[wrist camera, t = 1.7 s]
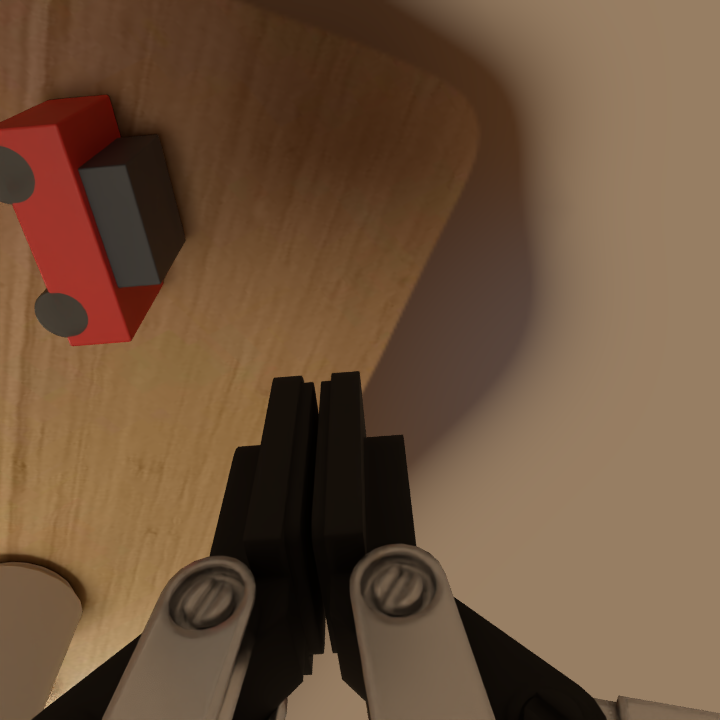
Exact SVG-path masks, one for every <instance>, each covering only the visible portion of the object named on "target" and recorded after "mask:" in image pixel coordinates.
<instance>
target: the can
mask: <svg viewBox="0 0 720 720" xmlns="http://www.w3.org/2000/svg"><path fill="white" fill-rule="evenodd" d="M82 612H83V611H82V606H81V601H80V600H79V598H78V597H77V596H76V594H75V593H74V590H73V588H72V587H71V586H70V584H69V583H68V582H67V581H66V580H65V579H64V578H62V577H61V576H60V575H58V574H57V573H55V572H53V571H51V570H49V569H47V568H44V567H42V566H38V565H34V564H30V563H21V562H8V563H1V564H0V720H31V719H32V718H34V717H35V716H36V715H38V714H39V713H40V712H41V711H43V709H44V707H45V704H46V702H47V699H48V697H49V694H50V692H51V690H52V687H53V685H54V682H55V680H56V677H57V675H58V672H59V670H60V667H61V665H62V662H63V660H64V657H65V655H66V653H67V650H68V648H69V645H70V643H71V640H72V638H73V635H74V633H75V630H76V628H77V625H78V623H79V620H80V618H81V615H82Z"/></svg>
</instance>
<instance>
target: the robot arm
mask: <svg viewBox="0 0 720 720" xmlns="http://www.w3.org/2000/svg"><path fill="white" fill-rule="evenodd" d="M325 618H326V619H325ZM325 620H327V625H328V630H329V636H330V641H331V646H332V651H333V653H338V659H339V664H340V670H341V676H342V680H343V681H345V682H346V683H347V684H348V685H349V686H350V687H351V688H352V689H353V690H354V691H355V692H356V693H357V694H358V695H360V697H361V698H363V699H364V700H365V701H366V707H367V713H368V718H369V720H720V713H715V712H709V711H704V710H697V709H692V708H686V707H681V706H675V705H669V704H663V703H658V702H652V701H646V700H641V699H635V698H629V697H623V696H618V699H617V702H613V701H607V700H601V699H596V698H593V697H591V696H590V695H589V694H588V693H587V692H586V691H585V690H584V689H583V688H582V687H580V686H579V685H578V684H576V683H575V682H574V681H572V680H571V679H569V678H568V677H566V676H565V675H564V674H562V673H561V672H559V671H558V670H557V669H555V668H554V667H552V666H551V665H550V664H548V663H547V662H545V661H544V660H542V659H541V658H540V657H538V656H537V655H535V654H534V653H533V652H531V651H530V650H528V649H527V648H525V647H524V646H523V645H521V644H520V643H518V642H517V641H516V640H514V639H513V638H511V637H510V636H508V635H507V634H506V633H504V632H503V631H501V630H500V629H498V628H497V627H496V626H494V625H493V624H491V623H490V622H489V621H487V620H486V619H484V618H483V617H482V616H480V615H478V614H477V613H476V612H475V611H473V610H472V609H470V608H469V607H467V606H466V605H465V604H463V603H462V602H460V601H459V600H457V599H456V598H455V597H453V594H452V591H451V588H450V585H449V582H448V579H447V577H446V574H445V572H444V570H443V569H442V567H441V565H440V563H439V561H438V560H436V559H435V558H434V557H433V556H432V555H431V554H430V553H429V552H426V551H425V550H423V549H421V548H419V547H417V546H416V540H415V531H414V523H413V515H412V505H411V497H410V489H409V480H408V472H407V463H406V454H405V446H404V438H403V435H392V436H379V437H366V430H365V420H364V411H363V400H362V390H361V380H360V372H359V371H355V372H342V373H332V375H331V381H322V382H321V392H320V406H319V413H318V406H317V400H316V393H315V387H314V383H313V382H308V383H304V380H303V377H302V376H290V377H278V378H274V379H273V382H272V387H271V393H270V398H269V403H268V408H267V414H266V419H265V424H264V430H263V435H262V440H261V445H256V446H242V447H238V448H237V449H236V451H235V453H234V457H233V461H232V465H231V469H230V473H229V478H228V482H227V486H226V490H225V494H224V498H223V503H222V507H221V511H220V515H219V519H218V523H217V527H216V532H215V536H214V540H213V544H212V548H211V552H210V557H206V558H203V559H200V560H197V561H194V562H192V563H191V564H189V565H187V566H185V567H184V568H182V569H181V570H179V571H178V572H177V573H176V574H175V575H174V576H173V577H172V578H171V579H170V580H169V581H168V583H167V585H166V586H165V588H164V589H163V591H162V592H161V594H160V597H159V599H158V601H157V603H156V605H155V607H154V609H153V612H152V614H151V616H150V618H149V620H148V622H147V624H146V626H145V629H144V631H143V633H142V634H141V635H139V636H138V637H137V638H136V639H134V640H133V641H132V642H130V643H129V644H128V645H126V646H125V647H124V648H123V649H121V650H120V651H119V652H117V653H116V654H115V655H114V656H112V657H111V658H110V659H108V660H107V661H106V662H105V663H103V664H102V665H101V666H99V667H98V668H97V669H96V670H94V671H93V672H92V673H90V674H89V675H88V676H87V677H85V678H84V679H83V680H81V681H80V682H79V683H77V684H76V685H75V686H74V687H72V688H71V689H70V690H68V691H67V692H66V693H65V694H63V695H62V696H61V697H59V698H58V699H57V700H56V701H54V702H53V703H52V704H50V705H49V706H48V707H47V708H45V709H44V710H43V711H41V712H40V713H39V714H38V715H36V716H35V717H34V718H32V719H31V720H285V717H286V712H287V697H288V696H289V695H290V694H291V693H292V692H293V691H294V690H295V689H296V688H297V687H298V686H299V685H300V684H301V683H302V682H303V675H312V664H313V654H323V653H324V646H325Z"/></svg>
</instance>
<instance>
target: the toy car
mask: <svg viewBox="0 0 720 720" xmlns="http://www.w3.org/2000/svg"><path fill="white" fill-rule="evenodd" d="M0 202H3V203H7V204H12V205H13V208H14V210H15V213H16V215H17V217H18V220H19V222H20V225H21V227H22V229H23V232H24V234H25V237H26V239H27V241H28V244H29V246H30V249H31V251H32V254H33V256H34V258H35V261H36V263H37V266H38V268H39V270H40V273H41V275H42V278H43V280H44V283H45V285H46V287H47V288H46V290H45V291H44V292H43V293H42V294H41V295H40V296H39V297H38V299H37V300H36V303H35V314H36V317H37V319H38V321H39V322H40V324H41V325H42V326H43V327H44V328H45V329H47V330H48V331H50V332H51V333H53V334H55V335H58V336H61V337H67V338H68V341H69V343H70V345H71V346H81V345H93V344H105V343H118V342H129V341H132V339H133V337H134V335H135V333H136V332H137V330H138V328H139V326H140V325H141V323H142V321H143V319H144V318H145V316H146V314H147V312H148V310H149V309H150V307H151V305H152V303H153V302H154V300H155V298H156V296H157V294H158V293H159V291H160V289H161V287H162V286H163V279H164V278H165V276H166V274H167V272H168V271H169V269H170V267H171V265H172V264H173V262H174V260H175V258H176V257H177V255H178V253H179V251H180V250H181V248H182V246H183V244H184V243H185V236H184V232H183V228H182V224H181V220H180V216H179V213H178V209H177V205H176V201H175V197H174V193H173V189H172V185H171V181H170V178H169V174H168V170H167V166H166V162H165V158H164V154H163V150H162V146H161V143H160V139H159V136H158V135H145V136H134V137H123V138H121V136H120V132H119V129H118V126H117V122H116V119H115V115H114V112H113V108H112V105H111V102H110V98H109V96H108V95H97V96H87V97H76V98H65V99H54V100H47V101H45V102H43V103H41V104H39V105H37V106H34V107H32V108H30V109H28V110H26V111H24V112H22V113H19V114H17V115H15V116H13V117H11V118H9V119H6V120H4V121H2V122H0Z"/></svg>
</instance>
